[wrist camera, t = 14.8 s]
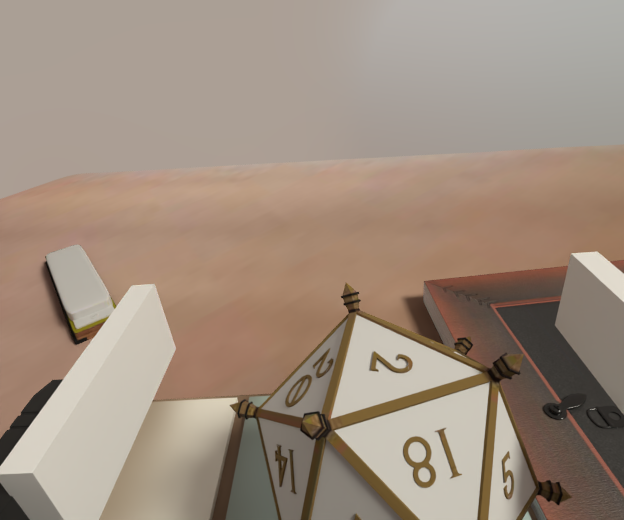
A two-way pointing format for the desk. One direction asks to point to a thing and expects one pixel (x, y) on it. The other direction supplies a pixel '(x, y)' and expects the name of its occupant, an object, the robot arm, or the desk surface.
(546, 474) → the picture frame
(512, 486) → the game die
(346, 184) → the desk surface
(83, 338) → the harmonica
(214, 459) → the board
